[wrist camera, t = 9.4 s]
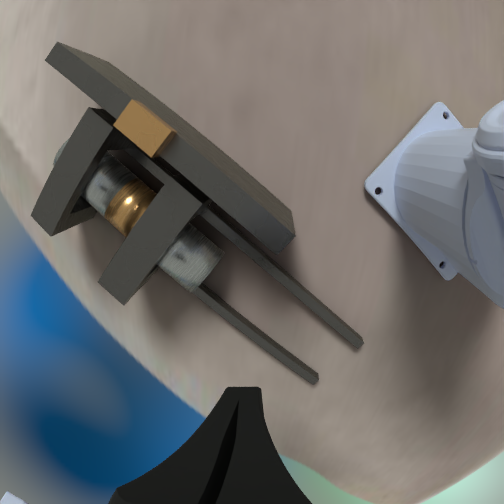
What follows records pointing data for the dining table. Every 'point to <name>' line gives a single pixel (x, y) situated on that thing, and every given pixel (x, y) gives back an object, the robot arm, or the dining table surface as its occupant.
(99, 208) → the tube
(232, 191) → the collar fixture
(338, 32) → the dining table surface
